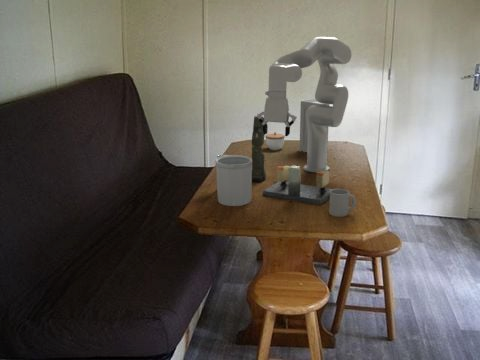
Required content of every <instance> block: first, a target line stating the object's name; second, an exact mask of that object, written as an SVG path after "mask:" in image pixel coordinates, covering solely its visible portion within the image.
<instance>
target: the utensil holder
mask: <svg viewBox="0 0 480 360" xmlns="http://www.w3.org/2000/svg"><path fill="white" fill-rule="evenodd" d="M228 155H229V156H222V157H219V158H217V157H216V159H215V163H214V164H215V165H216V166H215V167H216V168H215V171H216V188H217V189H216V190H217V201H218V203H219V204H221V205H223V206H227V207H241V206H245V205H248V204H249V203H251V202H252V193H253V192H252V191H253V190H252V184H253V182H252V157H250V156H246V155H239V154H234V155H230V154H228Z"/></svg>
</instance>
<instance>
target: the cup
mask: <svg viewBox="0 0 480 360" xmlns="http://www.w3.org/2000/svg"><path fill="white" fill-rule="evenodd" d="M331 189H332V190H330V198H329V203H328V205H329V206H328V207H329V208H328V209H329V210H328V212H329V215H330V216H332V217H336V218H344V217H346V216H348V215H349V212H350V211H353V210H354V209H355V208H356V206H357V198H356V197H355V195H354V194H351V193H350V191H349V190H347V189H343V188H331ZM350 199H351V205H350V203H349V202H350ZM349 205H350V206H349Z"/></svg>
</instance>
